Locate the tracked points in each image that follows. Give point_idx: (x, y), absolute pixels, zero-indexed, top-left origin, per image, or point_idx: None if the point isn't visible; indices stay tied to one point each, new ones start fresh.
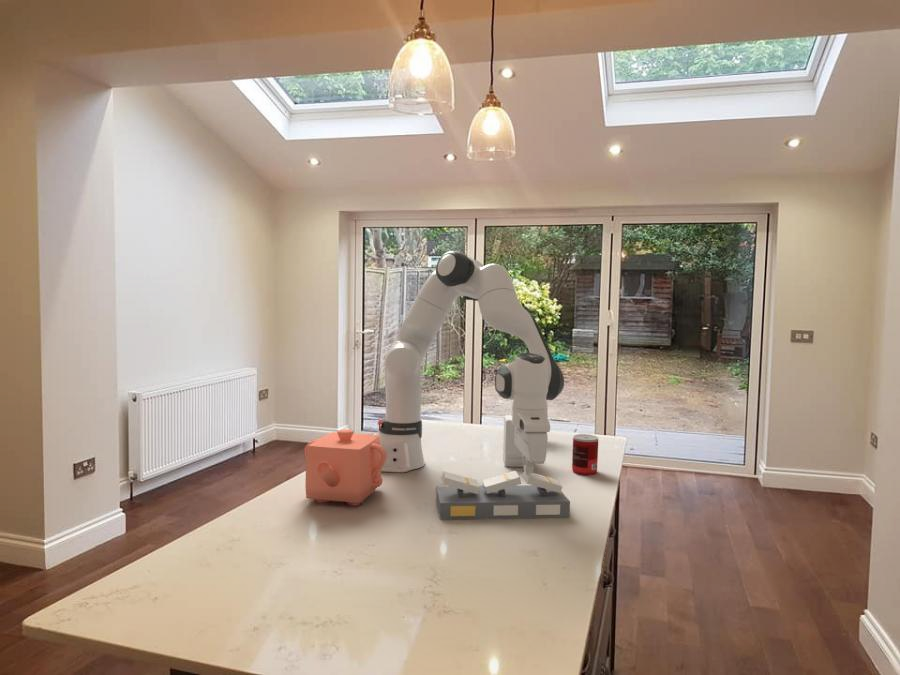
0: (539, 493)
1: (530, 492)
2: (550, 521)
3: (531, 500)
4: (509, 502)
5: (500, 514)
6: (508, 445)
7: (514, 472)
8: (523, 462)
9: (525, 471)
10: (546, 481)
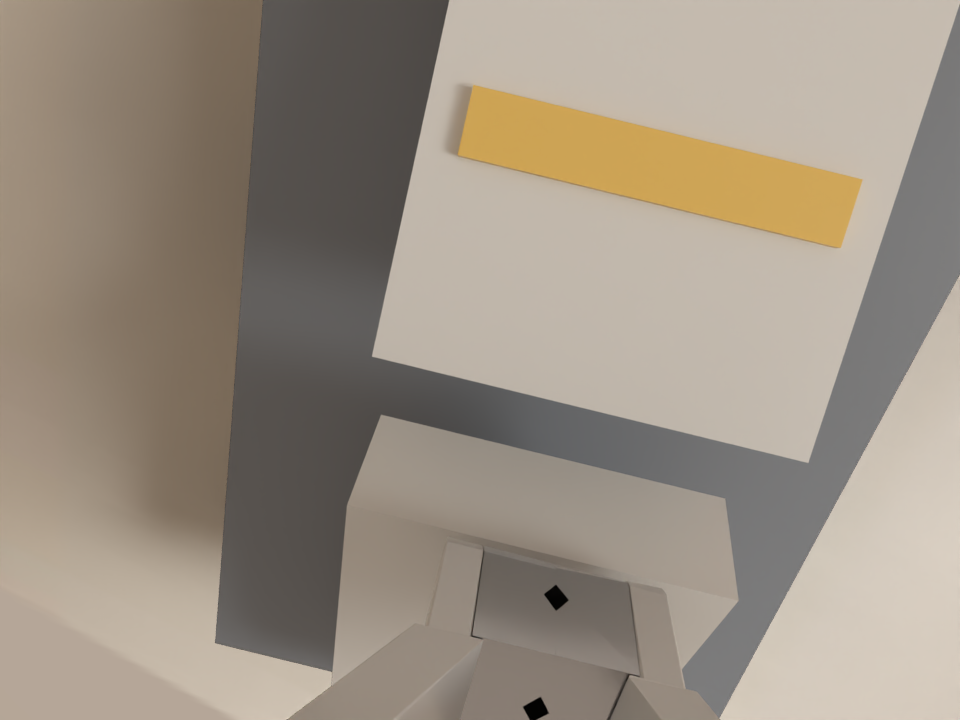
0: None
1: (561, 447)
2: (201, 373)
3: (285, 330)
4: (265, 20)
5: None
6: None
7: (724, 403)
8: (703, 707)
9: (511, 555)
10: (347, 662)
